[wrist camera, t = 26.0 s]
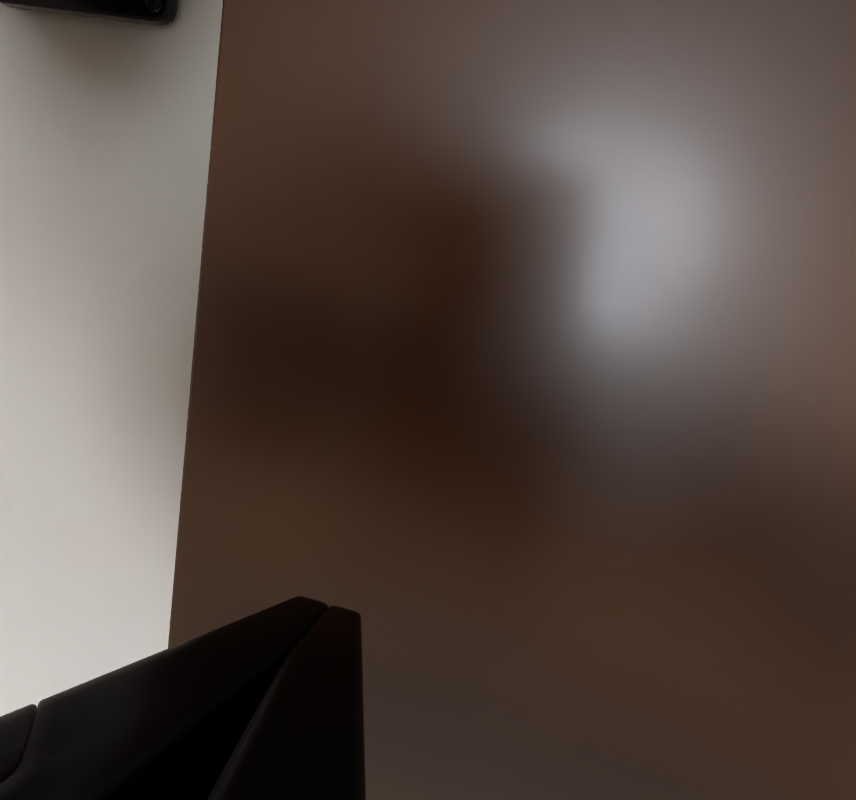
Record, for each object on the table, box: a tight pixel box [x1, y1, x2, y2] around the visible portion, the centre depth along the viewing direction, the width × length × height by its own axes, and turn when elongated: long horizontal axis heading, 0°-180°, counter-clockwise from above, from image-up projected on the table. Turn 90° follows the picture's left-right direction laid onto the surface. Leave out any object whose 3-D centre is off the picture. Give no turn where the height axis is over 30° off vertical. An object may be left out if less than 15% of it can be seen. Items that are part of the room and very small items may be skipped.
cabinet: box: [168, 0, 856, 800], centre depth 14 cm, size 16×13×10 cm
